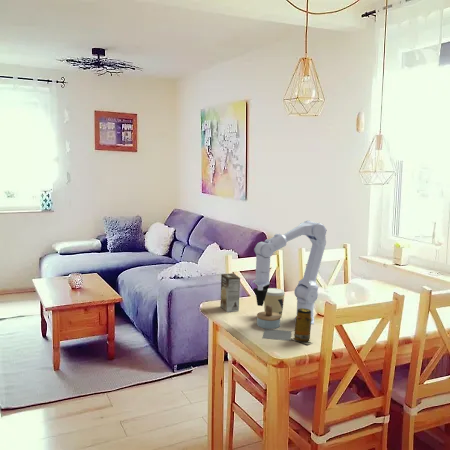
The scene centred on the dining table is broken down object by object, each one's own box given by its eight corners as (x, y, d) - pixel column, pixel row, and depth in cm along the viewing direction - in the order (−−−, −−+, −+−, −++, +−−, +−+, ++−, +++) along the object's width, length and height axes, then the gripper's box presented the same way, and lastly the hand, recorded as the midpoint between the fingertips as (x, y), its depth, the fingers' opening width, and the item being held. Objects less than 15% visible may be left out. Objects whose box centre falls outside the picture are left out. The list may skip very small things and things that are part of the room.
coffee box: (219, 306, 229) (220, 273, 227) (232, 305, 231) (233, 273, 229) (226, 312, 221) (227, 278, 219) (239, 311, 223) (240, 277, 221)
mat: (264, 329, 199) (264, 328, 199) (291, 332, 197) (291, 331, 197) (262, 339, 188) (262, 338, 188) (290, 341, 186) (290, 340, 186)
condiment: (299, 336, 193) (302, 306, 192) (317, 341, 187) (320, 311, 186) (289, 339, 187) (291, 309, 186) (307, 345, 182) (310, 314, 181)
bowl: (258, 321, 209) (258, 312, 209) (280, 323, 208) (280, 314, 207) (255, 328, 200) (256, 319, 200) (278, 330, 198) (279, 321, 198)
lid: (259, 312, 209) (259, 301, 209) (281, 314, 207) (282, 303, 207) (255, 319, 200) (255, 308, 199) (278, 321, 198) (279, 310, 197)
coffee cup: (282, 320, 211) (283, 294, 210) (261, 318, 213) (262, 292, 211) (284, 314, 220) (285, 288, 219) (264, 312, 222) (265, 287, 220)
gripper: (255, 266, 207) (253, 297, 208) (250, 274, 193) (249, 307, 194) (271, 268, 206) (269, 299, 207) (268, 275, 191) (266, 308, 193)
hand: (261, 303), depth 201 cm, fingers open, 7 cm apart
